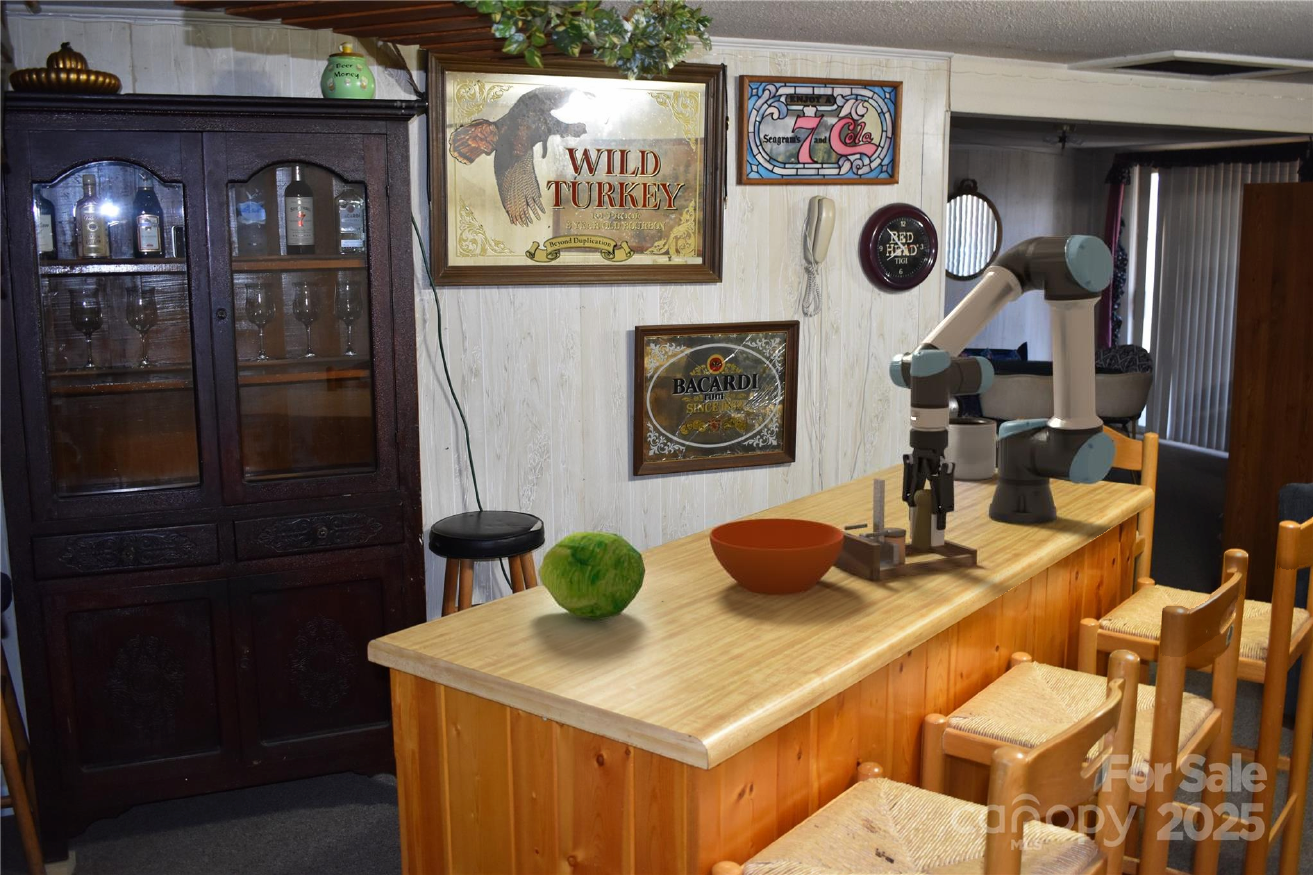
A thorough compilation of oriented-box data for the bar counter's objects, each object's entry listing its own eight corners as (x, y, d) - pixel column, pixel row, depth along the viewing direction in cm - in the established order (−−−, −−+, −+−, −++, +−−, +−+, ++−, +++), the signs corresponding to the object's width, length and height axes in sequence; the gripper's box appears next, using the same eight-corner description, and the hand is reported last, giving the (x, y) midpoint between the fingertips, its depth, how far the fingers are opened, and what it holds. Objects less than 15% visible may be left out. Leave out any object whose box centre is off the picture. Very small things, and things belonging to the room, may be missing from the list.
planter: (938, 481, 313) (939, 425, 311) (933, 470, 329) (934, 417, 327) (998, 482, 311) (1000, 425, 308) (991, 471, 326) (993, 417, 324)
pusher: (863, 559, 232) (864, 474, 229) (898, 572, 222) (899, 483, 219) (858, 560, 232) (859, 474, 229) (893, 573, 221) (894, 484, 219)
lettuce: (580, 607, 212) (579, 525, 212) (664, 616, 199) (662, 529, 199) (514, 619, 199) (512, 533, 199) (599, 630, 186) (597, 537, 186)
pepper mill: (942, 547, 228) (943, 493, 226) (911, 546, 229) (912, 492, 227) (941, 540, 233) (942, 487, 232) (910, 539, 235) (911, 486, 233)
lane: (930, 548, 241) (931, 509, 240) (976, 564, 228) (977, 523, 227) (830, 564, 230) (830, 523, 229) (873, 581, 218) (873, 538, 216)
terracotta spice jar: (894, 561, 232) (895, 526, 230) (911, 567, 227) (911, 531, 226) (873, 564, 229) (874, 529, 228) (889, 570, 225) (889, 534, 224)
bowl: (755, 612, 200) (755, 556, 199) (686, 578, 222) (685, 528, 221) (871, 591, 212) (871, 538, 210) (794, 561, 234) (794, 512, 232)
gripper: (884, 423, 235) (882, 534, 238) (945, 435, 218) (942, 554, 221) (914, 421, 238) (912, 530, 241) (976, 432, 221) (973, 549, 224)
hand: (926, 541), depth 231 cm, fingers closed on pepper mill, 6 cm apart
